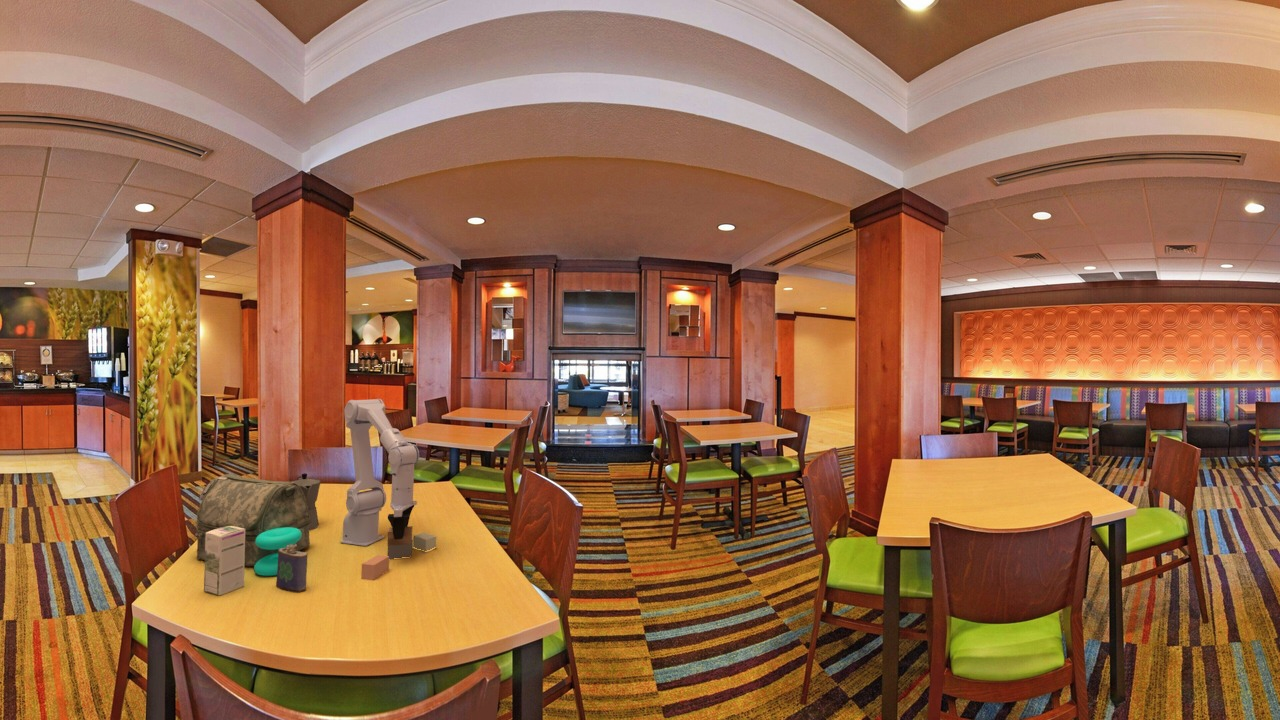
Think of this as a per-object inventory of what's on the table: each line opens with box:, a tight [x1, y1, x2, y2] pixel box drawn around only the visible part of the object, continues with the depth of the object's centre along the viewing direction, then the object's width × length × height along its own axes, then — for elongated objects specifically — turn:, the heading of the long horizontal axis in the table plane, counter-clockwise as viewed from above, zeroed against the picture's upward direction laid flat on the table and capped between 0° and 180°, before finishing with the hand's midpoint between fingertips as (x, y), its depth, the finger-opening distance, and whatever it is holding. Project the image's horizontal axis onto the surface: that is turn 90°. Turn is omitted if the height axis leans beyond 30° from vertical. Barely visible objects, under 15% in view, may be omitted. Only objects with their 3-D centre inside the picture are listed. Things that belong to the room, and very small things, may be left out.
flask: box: [275, 544, 308, 593], centre depth 120 cm, size 9×3×11 cm, turn 68°
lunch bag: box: [194, 473, 311, 567], centre depth 139 cm, size 26×18×22 cm
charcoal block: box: [386, 539, 413, 560], centre depth 141 cm, size 6×4×4 cm, turn 108°
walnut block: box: [386, 525, 414, 547], centre depth 141 cm, size 6×4×4 cm, turn 109°
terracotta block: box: [360, 554, 390, 581], centre depth 129 cm, size 6×4×4 cm, turn 172°
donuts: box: [253, 527, 302, 577], centre depth 129 cm, size 10×10×10 cm
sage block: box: [412, 531, 437, 551], centre depth 147 cm, size 6×4×4 cm, turn 60°
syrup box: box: [203, 526, 246, 596], centre depth 118 cm, size 6×6×14 cm
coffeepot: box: [291, 473, 321, 531], centre depth 161 cm, size 15×9×18 cm, turn 44°
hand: (400, 534), depth 141 cm, fingers open, 7 cm apart
